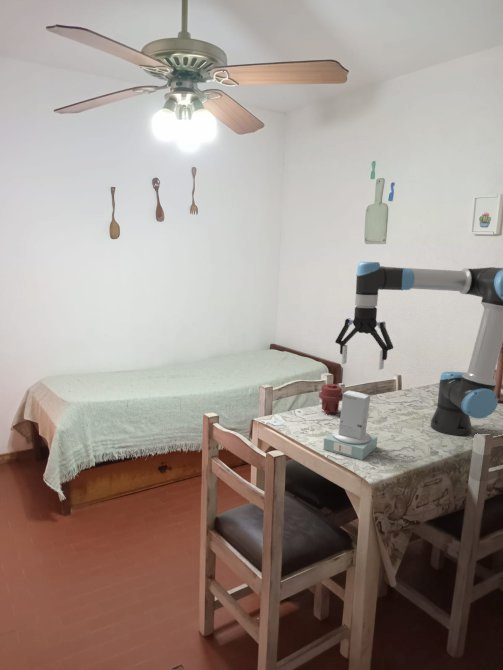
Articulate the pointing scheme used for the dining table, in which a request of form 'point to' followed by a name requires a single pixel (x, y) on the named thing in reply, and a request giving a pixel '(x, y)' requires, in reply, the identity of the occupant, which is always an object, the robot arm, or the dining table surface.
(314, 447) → the dining table surface
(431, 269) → the robot arm
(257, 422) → the dining table surface
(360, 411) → the skincare box
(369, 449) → the kitchen scale
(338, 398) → the mechanical component
